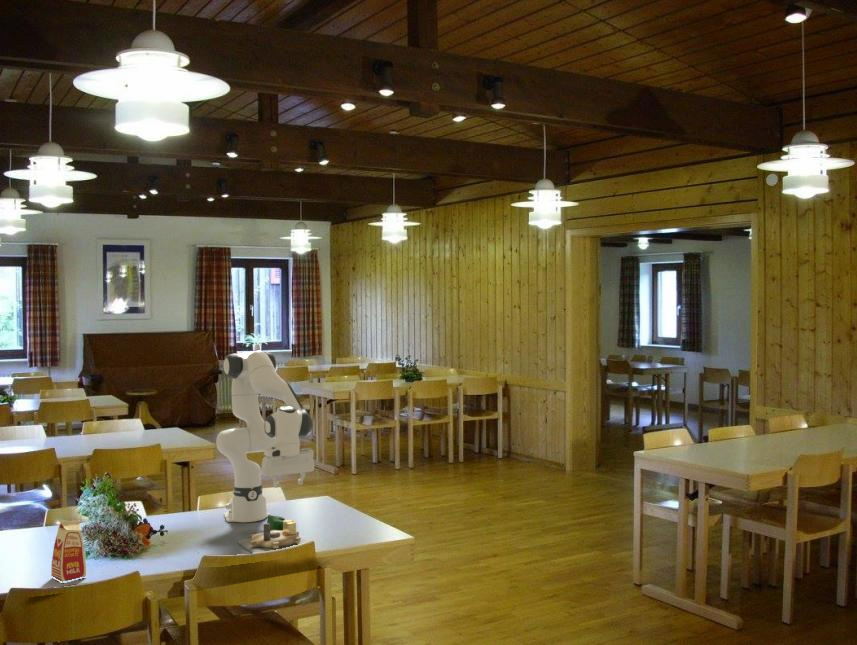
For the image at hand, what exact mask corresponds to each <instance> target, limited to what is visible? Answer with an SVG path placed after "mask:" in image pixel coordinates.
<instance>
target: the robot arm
mask: <svg viewBox="0 0 857 645" xmlns="http://www.w3.org/2000/svg"><path fill="white" fill-rule="evenodd" d="M276 361H277V360H276V356H274V354H273V353H272V352H268V351H262V350H256V351H255V350H254V351H247V352H239V353H235V352H234V353H230V354H227V355H226V357H225V358H224V361H223V371H224V374H225V375H226V377H228V378H230V379H232V381H231V406H232V409H231V410H232V411H231V412H232V414H233V415H234V416H235V417H236V418H237V419H240V420H241V421H245V423H246V427H236V428H229V429H225V430H221V431H220V432H219V433H218V434H217V437H216V441H215V445H216V449H217V450H218V451H219V452H220V453H221V454H222V455H223V456H225V457H226V458H227V459H228V460H229V461H230V463H231V466H232V469H233V475H234V476H233V477H234V486H233V490H232V494H233V496H231V499H230V500H229V501H228V503H226V505H225V508H226V510H228V511H224V512H223V516H224V518H226V519H225V521H226V522H227V523H228V522H230V523H253V522H258V521H262V520H265V519H266V518H268V515H271V513H270V512H267V511H268V509H267V498H266V496H264V495H263V484H262V476H264V477H266V478H267V477H270V478H271V481H272V482H273V487H274V488H275V489H276V488H280V482H279V481H277V476H286V475H287V476H288V475H295V474H300V477H299V479H297V485H304V482H303V481H304V479H305V477H306V475H307V474H306V473H311V472H313V471H314V470H315V461H314V460H315V459H314V456H315V455H314V454H315V452H314V449H313V448H311V447H302V448H301V446H300V444H301V443H300V442H301V441H300V438H304V437H306V436H307V435H309V433H310V432H311V431H312V429H313V420H312V416H311V415H310V414H309V412H308V411H307V410H306V409H305V408H304V406H303V404H302V403H301V401H300V398H299V397H298V396H297V394H296V393H295V391H294V388H292V385H290V383H288V382H287V381H285V380H284V379H283V378H282V377H281V376H280V375H279V374H278V373H277V368H276V367H277V362H276ZM259 395H260V396H264V397H270V398H274V399H278V400H281V401H282V402H283V403H285V405H283V406H280V407H278V408H277V409H276V412H273V413H271V414H269V415H268V416H267V417H266V418H265V419H264V418H263V416H262V415H261V412H260V410H261V409H260V404H259ZM255 453H263V455H264V456H263V458H262V461H261V466H260V465H259V464H258V463H257V462H255V461H253V460H250V459H248V456H247V454H255Z"/></svg>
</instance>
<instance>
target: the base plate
mask: <svg viewBox="0 0 857 645" xmlns="http://www.w3.org/2000/svg"><path fill="white" fill-rule="evenodd" d="M299 537H300V540H301V542H300V543H294V544H291V545H288V546H283V547H279V548H265V547H257V546H255V547H251V546H250V541H252V540H249V538H246V539H238V540H236V542H238V543H237V544H239V545H240V546H241V545H242V546H241V547H243V548H244V549H245V550H247V551H249V553H251V552H263V551H270V550H276V549H282V548H286V547H290V546H293V545H298V544H302V543H304V542H307V541H308V540H306V539H305V538H303V537H301V536H299Z"/></svg>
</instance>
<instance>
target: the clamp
mask: <svg viewBox="0 0 857 645" xmlns="http://www.w3.org/2000/svg"><path fill="white" fill-rule="evenodd" d="M283 521H285V518H284V517H283V516H278V515H271V514H270V515H268V517H267V521H266V523H269V524H270V531H271V530H276V531H278V530H283Z"/></svg>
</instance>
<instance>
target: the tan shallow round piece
mask: <svg viewBox="0 0 857 645" xmlns="http://www.w3.org/2000/svg"><path fill="white" fill-rule="evenodd" d="M299 533H300V531H297V530H296V534H287V533H285V532H284V531H283V530H278V531H276V530H271V531H270V524H269V523H267V522H266V523H263V531H261V532H258V533H251V534H250V535H249V536H248V539H249V540H252V541H250V546H251V547H255V546H257V547H265V548H279V547H283V546H288V545H291V544H294V543H300V542H301V540H300V537H301V536H300V534H299Z"/></svg>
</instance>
